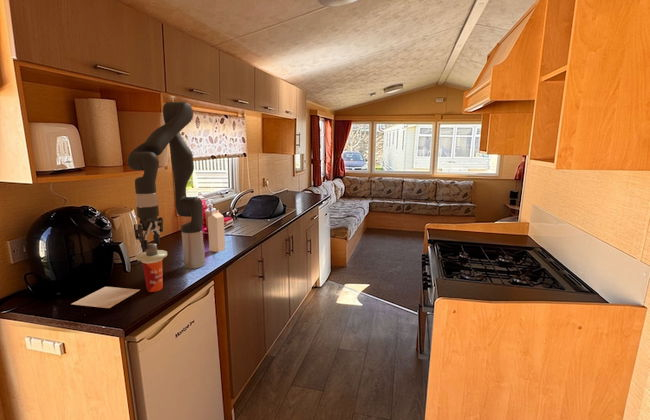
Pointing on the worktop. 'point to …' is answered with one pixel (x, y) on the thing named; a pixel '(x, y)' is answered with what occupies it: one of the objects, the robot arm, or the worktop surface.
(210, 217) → the milk
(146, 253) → the lid
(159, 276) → the paper cup
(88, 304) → the mat
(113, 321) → the worktop surface
